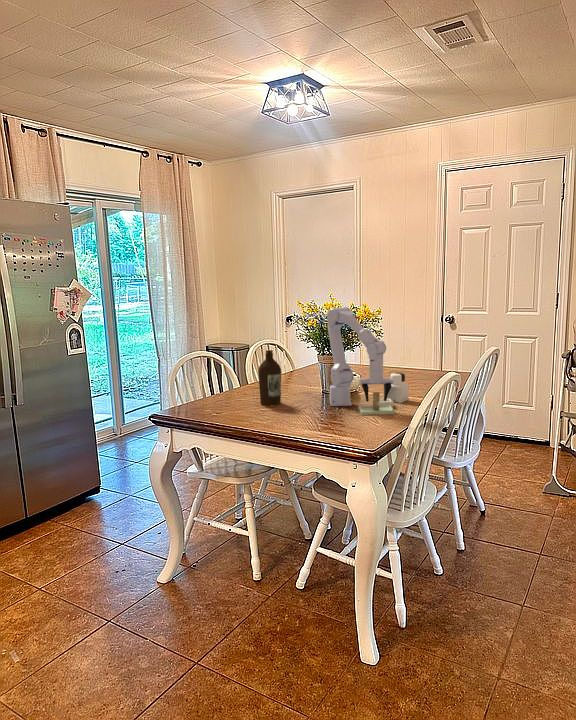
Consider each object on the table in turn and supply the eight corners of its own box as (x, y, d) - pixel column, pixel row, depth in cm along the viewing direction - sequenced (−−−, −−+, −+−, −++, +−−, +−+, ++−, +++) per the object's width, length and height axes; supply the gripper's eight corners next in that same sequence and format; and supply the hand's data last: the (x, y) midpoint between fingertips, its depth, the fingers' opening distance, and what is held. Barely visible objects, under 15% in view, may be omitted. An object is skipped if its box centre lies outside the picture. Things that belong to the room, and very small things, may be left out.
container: (393, 398, 256) (393, 371, 254) (408, 400, 252) (409, 372, 250) (386, 401, 250) (386, 373, 248) (401, 403, 246) (401, 375, 244)
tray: (361, 414, 227) (361, 411, 226) (358, 409, 237) (358, 406, 236) (394, 414, 227) (394, 410, 227) (390, 408, 237) (390, 405, 236)
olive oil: (255, 403, 252) (253, 350, 248) (274, 399, 258) (272, 348, 254) (266, 407, 243) (265, 352, 239) (286, 404, 249) (285, 350, 245)
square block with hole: (377, 408, 237) (377, 402, 237) (375, 404, 244) (375, 398, 243) (392, 407, 237) (392, 401, 237) (389, 404, 244) (389, 398, 243)
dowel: (373, 410, 230) (373, 393, 229) (372, 408, 233) (372, 392, 232) (379, 410, 230) (379, 393, 229) (379, 408, 233) (379, 391, 232)
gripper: (360, 371, 225) (360, 403, 227) (395, 370, 225) (394, 402, 227) (358, 368, 232) (358, 399, 234) (391, 368, 232) (391, 398, 234)
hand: (376, 400), depth 231 cm, fingers open, 7 cm apart
